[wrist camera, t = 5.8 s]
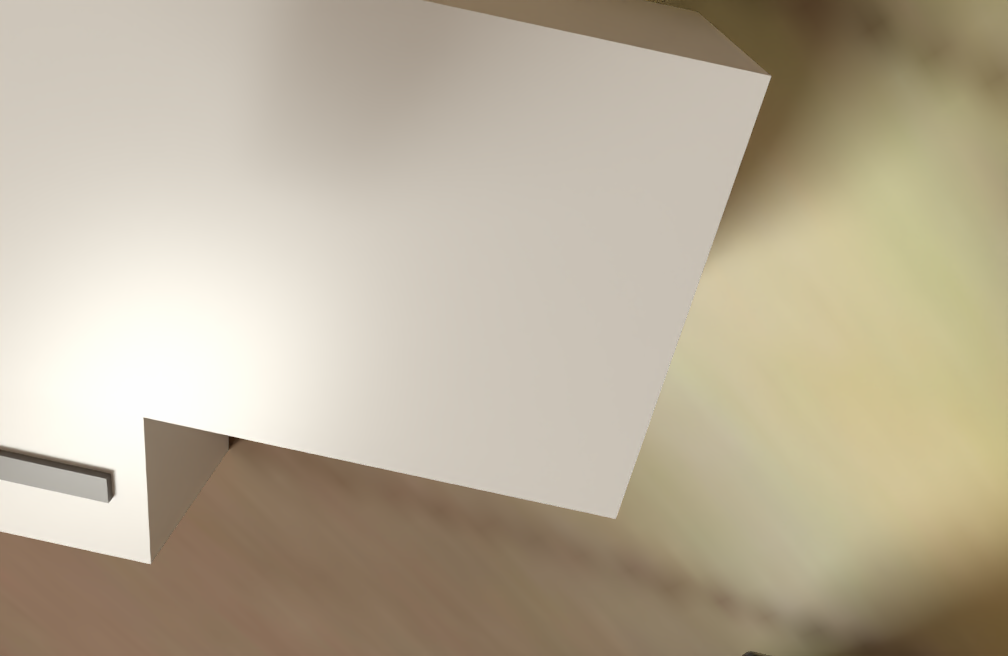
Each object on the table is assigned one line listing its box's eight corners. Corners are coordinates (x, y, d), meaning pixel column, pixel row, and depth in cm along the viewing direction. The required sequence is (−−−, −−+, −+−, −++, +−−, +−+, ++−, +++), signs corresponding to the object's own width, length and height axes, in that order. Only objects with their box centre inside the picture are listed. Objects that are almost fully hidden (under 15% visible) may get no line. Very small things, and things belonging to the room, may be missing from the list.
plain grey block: (607, 317, 21) (615, 518, 14) (181, 225, 21) (-25, 381, 14) (696, 10, 17) (771, 75, 10) (174, -103, 17) (-118, -117, 10)
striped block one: (229, 448, 24) (147, 569, 20) (78, 415, 24) (-40, 529, 20) (232, 309, 22) (138, 411, 17) (63, 272, 22) (-75, 364, 17)
